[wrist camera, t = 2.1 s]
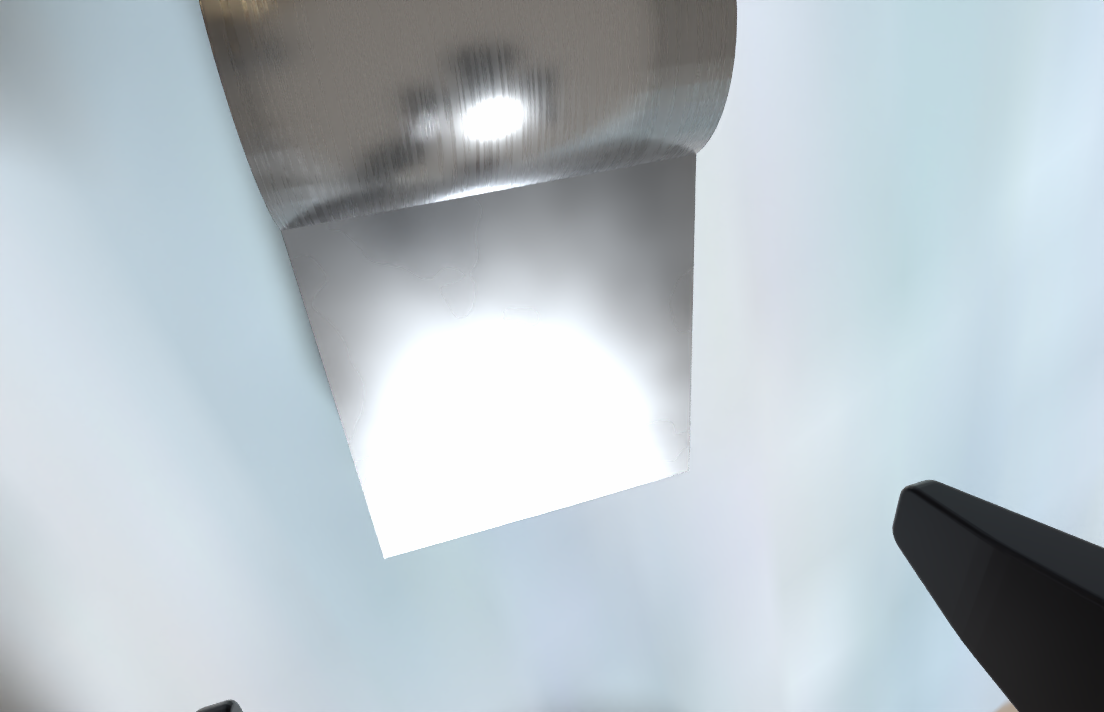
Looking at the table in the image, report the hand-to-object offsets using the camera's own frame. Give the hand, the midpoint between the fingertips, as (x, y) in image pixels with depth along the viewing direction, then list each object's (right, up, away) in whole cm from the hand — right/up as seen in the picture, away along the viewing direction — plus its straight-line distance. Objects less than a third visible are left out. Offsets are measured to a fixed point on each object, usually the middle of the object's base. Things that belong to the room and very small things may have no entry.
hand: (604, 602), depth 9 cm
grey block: (-2, +6, +4) cm, 7 cm away
